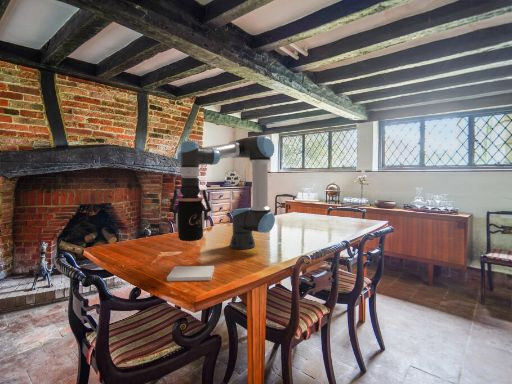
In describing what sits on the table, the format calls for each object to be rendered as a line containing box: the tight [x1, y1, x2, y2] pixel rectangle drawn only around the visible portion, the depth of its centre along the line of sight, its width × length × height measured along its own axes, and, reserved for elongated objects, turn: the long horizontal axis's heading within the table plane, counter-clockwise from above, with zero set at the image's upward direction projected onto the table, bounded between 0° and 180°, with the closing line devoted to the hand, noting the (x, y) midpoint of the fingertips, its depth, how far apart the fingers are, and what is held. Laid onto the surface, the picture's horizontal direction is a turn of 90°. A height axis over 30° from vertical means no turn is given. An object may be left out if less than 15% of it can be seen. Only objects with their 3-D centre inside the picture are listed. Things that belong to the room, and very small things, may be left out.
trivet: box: [166, 265, 215, 282], centre depth 127 cm, size 18×14×2 cm
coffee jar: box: [177, 196, 204, 242], centre depth 127 cm, size 11×11×18 cm
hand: (190, 227), depth 127 cm, fingers closed on coffee jar, 11 cm apart
